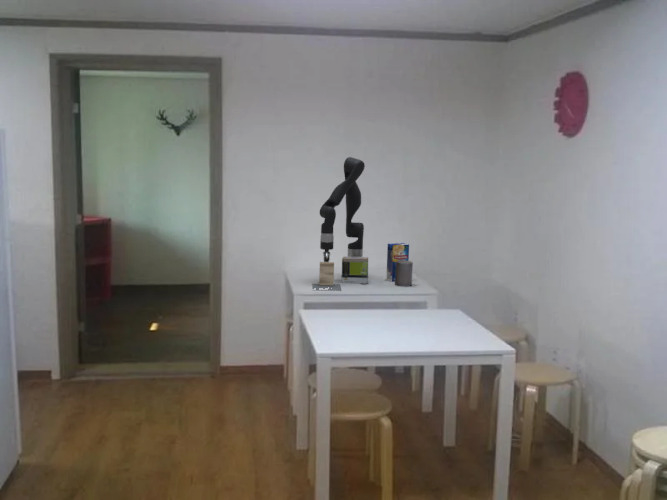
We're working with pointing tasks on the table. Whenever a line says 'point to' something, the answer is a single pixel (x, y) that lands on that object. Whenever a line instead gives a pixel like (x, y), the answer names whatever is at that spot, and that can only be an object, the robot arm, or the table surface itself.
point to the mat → (334, 288)
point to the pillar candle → (403, 273)
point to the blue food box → (395, 258)
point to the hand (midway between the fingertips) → (326, 270)
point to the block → (326, 274)
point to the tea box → (355, 270)
